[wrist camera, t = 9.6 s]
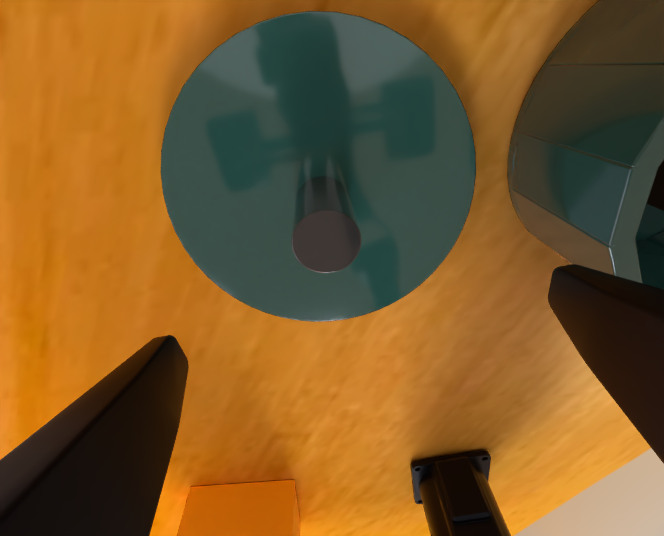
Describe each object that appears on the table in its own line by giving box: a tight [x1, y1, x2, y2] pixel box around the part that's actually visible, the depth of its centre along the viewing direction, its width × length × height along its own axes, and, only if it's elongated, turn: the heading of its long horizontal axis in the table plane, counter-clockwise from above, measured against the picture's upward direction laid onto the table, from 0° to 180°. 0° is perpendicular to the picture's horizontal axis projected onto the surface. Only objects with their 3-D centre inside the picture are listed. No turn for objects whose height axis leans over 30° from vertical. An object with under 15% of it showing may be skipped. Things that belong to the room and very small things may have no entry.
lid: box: [161, 11, 476, 322], centre depth 14 cm, size 14×14×5 cm
